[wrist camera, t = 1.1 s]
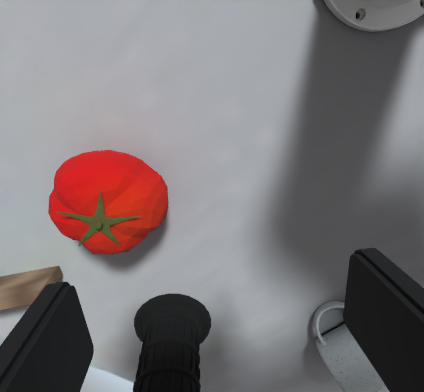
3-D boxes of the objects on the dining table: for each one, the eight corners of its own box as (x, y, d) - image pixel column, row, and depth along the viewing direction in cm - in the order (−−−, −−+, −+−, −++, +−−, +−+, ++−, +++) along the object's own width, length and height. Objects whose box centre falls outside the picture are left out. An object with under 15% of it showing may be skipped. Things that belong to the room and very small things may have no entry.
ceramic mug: (383, 330, 39) (425, 384, 32) (334, 359, 40) (364, 417, 33) (346, 284, 36) (383, 333, 29) (294, 318, 37) (317, 372, 30)
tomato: (57, 153, 27) (2, 180, 19) (158, 131, 27) (143, 149, 19) (91, 234, 31) (56, 284, 23) (181, 214, 30) (176, 258, 23)
